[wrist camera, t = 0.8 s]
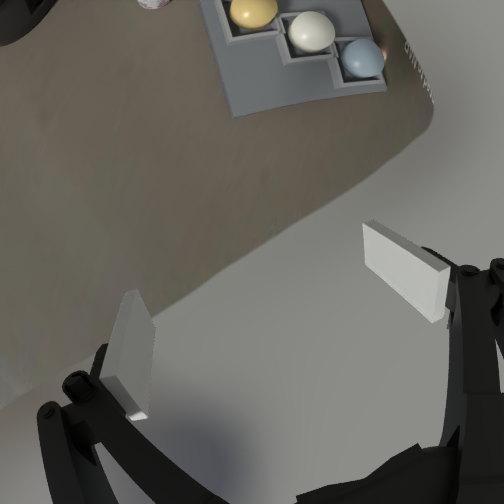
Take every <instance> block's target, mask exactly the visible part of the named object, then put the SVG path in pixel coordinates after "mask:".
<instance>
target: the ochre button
mask: <svg viewBox="0 0 504 504" xmlns="http://www.w3.org/2000/svg"><path fill="white" fill-rule="evenodd" d="M277 10H278V6H277V2H276V0H233V1H232V4H231V6H230V10H229V14H230V17H231V19H232V21H233V22H234V23H235V24H236V25H237V26H239V27H241V28H243V29H247V30H258V29H262V28H264V27H265V26H267V25H268V24H269V23H270V21H271V20H272V19H273V18H274V16H275V15H276V13H277Z"/></svg>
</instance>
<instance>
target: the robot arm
mask: <svg viewBox="0 0 504 504" xmlns="http://www.w3.org/2000/svg"><path fill="white" fill-rule="evenodd" d="M54 1H55V0H0V46H5V45H8V44H11V43H13V42H15V41H17V40H18V39H20V38H21V37H23V36H24V35H26V34H27V33H28V32H29V31H31V30H32V29H33V28H34V27H35V26H36V25H37V24H38V23H39V22H40V21H41V20H42V18H43V17H44V16H45V15H46V14H47V12H48V11H49V9H50V8H51V6H52V5H53V3H54ZM363 236H364V251H365V264H366V266H368V267H369V268H370V269H371V270H372V271H374V272H375V273H376V274H377V275H378V276H379V277H381V278H382V279H383V280H384V281H385V282H387V283H388V284H389V285H390V286H391V287H392V288H393V289H395V290H396V291H397V292H398V293H399V294H400V295H401V296H402V297H404V298H405V299H406V300H407V301H408V302H409V303H410V304H412V305H413V306H414V307H415V308H416V309H417V310H418V311H419V312H420V313H422V315H424V316H425V317H426V318H427V319H428V320H429V321H430V322H431V323H433V322H435V321H437V320H439V319H441V318H443V316H444V311H445V306H446V307H447V308H448V309H449V310H450V314H449V320H448V325H447V329H449V333H450V334H449V336H450V337H449V373H448V388H447V400H446V410H445V418H444V425H443V432H442V437H441V440H440V443H439V446H435V447H428V448H423V449H421V447H420V446H419V444H418V443H417V444H415V445H414V446H412V447H410V448H408V449H406V450H405V451H403V452H401V453H399V454H397V455H395V456H393V457H391V458H390V459H389V460H388V461H386V462H385V463H384V464H383V465H382V466H380V467H379V468H378V469H376V470H375V471H374V472H372V473H371V474H370V475H369V476H367V477H366V478H364V479H361V480H356V481H350V482H345V483H339V484H332V485H327V486H324V487H321V488H319V489H316V490H313V491H310V492H307V493H303V494H300V495H297V496H296V498H297V501H298V502H296V503H295V504H504V393H501V392H500V381H499V368H498V358H497V350H496V342H495V339H496V341H497V344H498V346H499V349H500V351H501V353H502V356H503V358H504V259H503V258H496V259H493V260H492V261H491V263H490V269H488V270H483V271H480V269H478V268H477V267H475V266H472V265H462V266H457V265H456V264H454V263H453V262H451V261H450V260H448V259H446V258H445V257H443V256H442V255H440V254H438V253H437V252H435V251H433V250H432V249H429V248H426V247H419V246H417V245H416V244H414V243H412V242H411V241H409V240H407V239H406V238H404V237H402V236H401V235H399V234H397V233H395V232H394V231H392V230H390V229H389V228H387V227H385V226H383V225H382V224H380V223H378V222H376V221H374V220H371V221H368V222H364V223H363ZM155 330H156V327H155V325H154V324H153V321H152V319H151V317H150V315H149V313H148V311H147V309H146V307H145V304H144V302H143V300H142V298H141V296H140V294H139V291H138V289H134V290H131V291H127V292H125V294H124V297H123V299H122V302H121V305H120V308H119V312H118V315H117V318H116V321H115V324H114V327H113V331H112V334H111V337H110V341H109V343H107V344H102V345H101V347H100V348H99V349H98V351H97V352H96V355H95V359H94V362H93V365H92V366H93V367H92V369H91V372H90V375H88V373H87V372H85V371H81V370H80V371H76V372H73V373H72V374H70V375H69V376H68V377H67V378H66V379H65V380H64V382H63V385H62V389H63V392H64V393H65V394H66V395H67V396H68V398H69V399H70V400H71V401H72V402H73V403H71V404H68V405H66V406H64V407H60V405H59V404H58V403H56V402H55V401H50V402H47V403H45V404H44V405H42V406H41V407H40V409H39V411H38V413H37V425H38V433H39V440H40V446H41V453H42V458H43V464H44V468H45V473H46V478H47V482H48V486H49V490H50V494H51V498H52V501H53V504H119V503H118V501H117V499H116V497H115V495H114V493H113V491H112V488H111V486H110V484H109V482H108V479H107V477H106V474H105V472H104V470H103V467H102V465H101V462H100V460H99V457H98V455H97V452H96V449H95V446H94V445H95V444H97V443H99V442H101V443H102V444H103V445H104V447H105V448H106V449H107V450H108V452H109V453H110V454H111V455H112V456H113V458H114V459H115V460H116V461H117V463H118V464H119V465H120V466H121V467H122V468H123V470H124V471H125V472H126V473H127V474H128V475H129V476H130V477H131V478H132V480H133V481H134V482H135V483H136V484H137V485H138V486H139V487H140V488H141V489H142V490H143V491H144V492H145V493H146V494H147V495H148V496H149V497H150V498H151V499H152V500H153V501H154V502H155V503H156V504H229V503H228V502H226V501H225V500H223V499H222V498H220V497H219V496H217V495H215V494H213V493H212V492H210V491H209V490H207V489H206V488H205V487H203V486H202V485H201V484H199V483H198V482H197V481H195V480H194V479H193V478H191V477H190V476H189V475H188V474H187V473H185V472H184V471H183V470H182V469H180V468H179V467H178V466H177V465H176V464H174V463H173V462H172V461H171V460H170V459H168V458H167V457H166V456H165V455H164V454H163V453H162V452H160V451H159V450H158V449H157V448H156V447H155V446H154V445H153V444H152V443H151V442H150V441H149V440H148V439H146V438H145V437H144V436H143V435H142V434H141V433H140V432H139V431H138V430H137V429H136V428H135V427H134V426H133V425H132V424H131V423H130V422H129V421H128V420H127V419H126V418H125V416H126V414H127V415H128V416H129V417H130V418H131V420H139V419H145V418H148V408H149V393H150V380H151V368H152V357H153V348H154V339H155Z"/></svg>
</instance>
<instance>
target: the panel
mask: <svg viewBox="0 0 504 504" xmlns="http://www.w3.org/2000/svg"><path fill="white" fill-rule="evenodd" d="M232 1H233V0H199V8H200V12H201V15H202V18H203V22H204V25H205V29H206V32H207V35H208V39H209V42H210V46H211V49H212V52H213V56H214V59H215V63H216V66H217V70H218V73H219V77H220V80H221V84H222V87H223V91H224V94H225V98H226V101H227V105H228V108H229V112H230V115H231V119H233V118H236V117H240V116H244V115H248V114H252V113H257V112H261V111H265V110H270V109H274V108H279V107H284V106H289V105H294V104H299V103H304V102H310V101H316V100H322V99H328V98H334V97H341V96H349V95H357V94H365V93H375V92H383V91H387V88H386V83H385V79H384V75H383V71H381V72H380V73H379V74H378V75H375V76H371V77H366V78H357V77H354V76H352V75H351V74H349V73H348V72H347V71H346V69H345V68H344V66H343V64H342V62H341V51H342V49H343V47H344V46H345V45H347V44H349V43H351V42H353V41H355V40H358V39H368V40H370V41H372V42H374V39H373V36H372V32H371V29H370V26H369V23H368V20H367V17H366V14H365V12H364V9H363V6H362V3H361V1H360V0H276V2H277V6H278V10H277V13H276V15H275V16H274V18H273V19H272V20H271V21H270V23H269V24H268V25H267V26H265V27H264V28H262V29H258V30H247V29H243V28H241V27H239V26H237V25H236V24H235V23H234V22H233V21H232V19H231V17H230V14H229V10H230V6H231V4H232ZM307 11H313V12H318V13H320V14H322V15H324V16H325V17H327V18H328V19H329V20H330V21H331V23H332V24H333V26H334V29H335V38H334V41H333V42H332V43H331V44H330V45H329V46H327V47H325V48H324V49H322V50H320V51H318V52H314V53H308V52H304V51H301V50H299V49H298V48H296V47H295V46H294V45H293V44H292V43H291V41H290V39H289V37H288V27H289V25H290V23H291V22H292V21H293V20H294V19H295V18H296V17H297V16H298V15H300V14H301V13H303V12H307ZM374 43H375V42H374Z"/></svg>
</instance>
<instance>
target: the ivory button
mask: <svg viewBox="0 0 504 504" xmlns="http://www.w3.org/2000/svg"><path fill="white" fill-rule="evenodd" d="M288 37H289V39H290V41H291V43H292V44H293V45H294V46H295V47H296V48H298V49H299V50H301V51H304V52H308V53H314V52H318V51H320V50H322V49H324V48H325V47H327V46H329V45H330V44H331V43H332V42H333V41H334V38H335V29H334V26H333V24H332V23H331V21H330V20H329V19H328V18H327V17H325V16H324V15H322V14H320V13H318V12H313V11H307V12H303V13H301V14H300V15H298V16H297V17H296V18H295V19H294V20H293V21H292V22H291V23H290V25H289V27H288Z"/></svg>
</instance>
